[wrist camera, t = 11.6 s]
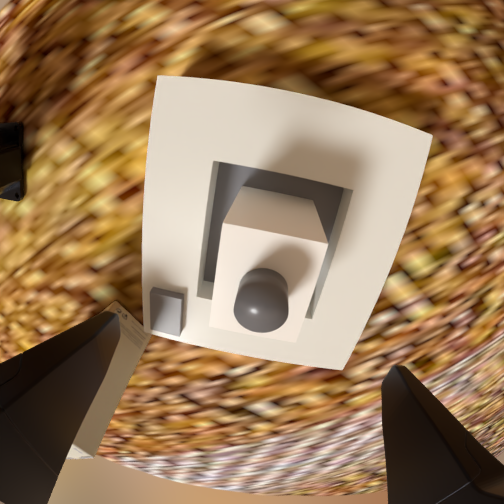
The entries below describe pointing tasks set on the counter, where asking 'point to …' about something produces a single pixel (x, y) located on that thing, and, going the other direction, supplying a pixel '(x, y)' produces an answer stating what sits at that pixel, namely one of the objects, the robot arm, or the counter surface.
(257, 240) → the plug
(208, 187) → the socket plate
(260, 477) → the counter surface
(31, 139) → the counter surface
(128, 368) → the skincare box
